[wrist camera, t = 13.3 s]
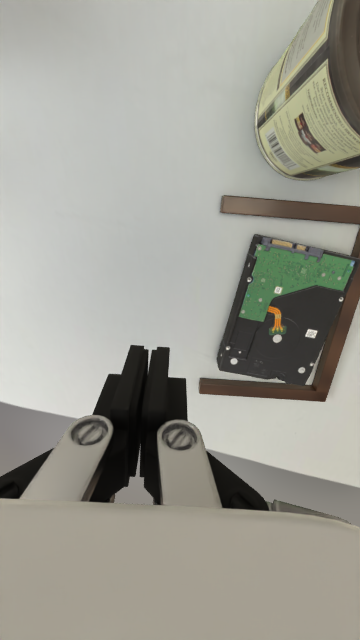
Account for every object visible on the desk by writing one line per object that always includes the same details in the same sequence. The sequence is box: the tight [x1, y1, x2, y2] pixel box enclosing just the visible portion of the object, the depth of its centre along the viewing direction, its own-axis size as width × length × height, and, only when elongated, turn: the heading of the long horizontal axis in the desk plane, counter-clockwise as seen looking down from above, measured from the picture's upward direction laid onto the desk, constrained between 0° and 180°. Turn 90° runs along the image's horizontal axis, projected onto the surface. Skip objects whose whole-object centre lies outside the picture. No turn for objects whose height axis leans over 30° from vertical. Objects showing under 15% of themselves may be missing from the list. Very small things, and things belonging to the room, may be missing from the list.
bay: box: [199, 195, 360, 402], centre depth 30 cm, size 22×16×1 cm
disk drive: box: [217, 234, 360, 386], centre depth 30 cm, size 10×3×15 cm
